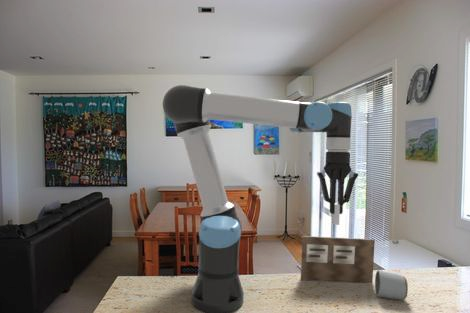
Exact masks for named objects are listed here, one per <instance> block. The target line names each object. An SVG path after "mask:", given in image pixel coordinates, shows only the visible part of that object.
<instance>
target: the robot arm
mask: <svg viewBox="0 0 470 313" xmlns="http://www.w3.org/2000/svg"><path fill="white" fill-rule="evenodd" d="M162 109H163V113H164V115H165V116H166V117H167V118H168V119H169V120H170V121H171V122H173V126H174V128H175V129H174V130H175V131H176V135H177V137H180V138H181V139H182V140H183V142H184V147H185V150H186V152H187V157H188V160H189V163H190V167H191V171H192V173H193V174H192V175H193V177H194V180H195V184H196V188H197V191H198V195H199V198H200V201H201V202H200V203H201V206H202V211H201V213H200V218H201V222H200V225H199V230H198V237H199V238H198V241H199V243H198V270H197V271H198V274H197V276H196V279H195V282H194V285H193V287H192V291H191V299H190V300H191V302H190V303H191V304H192V306H193V307H195V308H196V309H197V310H199V311H200V312H204V313H231V312H234V311H237V310H238V309H240V308H241V307H242V306H243V305H244V298H245V297H244V290H243V287H242V283H241V279H240V276H239V268H240V264H239V262H240V246H241V245H240V244H241V236H242V231H243V228H242V227H243V226H242V222H241V219H240V218H239V217H238V214H237V210H236V207H235V204H234V203H232V202H231V201H229V199H228V196H227V193H226V189H225V186H224V182H223V178H222V175H221V172H220V168H219V164H218V161H217V157H216V154H215V152H214V147H213V144H212V141H211V137H210V134H209V131H210V129H211V128H212V123H211V120H212V121H221V122H232V123H239V124H241V123H242V124H251V125H261V126H269V127H280V128H289V131H290V132H293V133H294V132H295V133H325V134H326V136H325V137H326V141H325V149H326V152H325V162H324V163H325V165H324V167H323V169H322V170H321V171H317V172H316V175H317V177H318V178H319V182H320V186H321V191H322V195H323V200H324V201H325V202H326V203H329V213H330V214H331V215H332V221H331V222H332V223H333V225H336V226H337V225H338V226H339V225H340V215H343V212H344V204H346V203H349V202H350V199H351V196H352V192H353V188H354V185H355V181H356V179H357V178H358V177H359V174H358V173H357V172H354V170H352V166H351V153H350V151H351V143H352V142H351V139H352V138H351V136H352V135H351V134H352V118H353V116H352V105H351V104H350V103H349V102H346V101H342V102H341V101H334V102H329V103H328V104H327V103H325V102H323V101H314V102H304V101H303V102H301V101H296V100H295V101H293V100H286V99H285V100H284V99H275V98H266V97H265V98H264V97H256V96H255V97H253V96H247V95H246V96H245V95H235V94H226V93H225V94H224V93H215V92H214V93H213V92H211V90H209V89H208V88H203V87H196V86H190V85H182V84H181V85H180V84H179V85H175V86H173V87H171V88H170V89H168V90H167V91H166V93H165V94H164V96H163V99H162ZM326 175H327V177H328V178H329V190H328V186H327V181H326ZM347 177H349V178H348V180H347V184H346V187H345V180H346V178H347ZM336 188H337V190H336ZM336 191H337V202H336Z"/></svg>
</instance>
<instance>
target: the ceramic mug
mask: <svg viewBox="0 0 470 313" xmlns="http://www.w3.org/2000/svg"><path fill="white" fill-rule="evenodd" d="M408 285H409V284H408V281H407V278H406V276H404V275H402V274H399V273H398V274H397V273H395V272H394V273H393V272H388V271H383V270H380V269H379V270H376V273H375V278H374V290H375V296H376V297H380V298H386V299H393V300H394V299H395V300H405V299H406V298H407V296H408V292H409V290H408V289H409V286H408Z"/></svg>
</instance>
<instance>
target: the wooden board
mask: <svg viewBox="0 0 470 313" xmlns="http://www.w3.org/2000/svg"><path fill="white" fill-rule="evenodd" d="M301 239H302V243H301V265H300V268H301V269H300V281H307V282H308V281H309V282H310V281H314V282H329V283H330V282H331V283H352V284H366V285H367V284H369V285H370V284H371V285H372V284H373V281H374V280H373V279H374V262H375V261H374V259H375V258H374V257H375V241H376V240H375V239H373V238H371V239H369V238H354V237H353V238H352V237H335V236H334V237H333V236H332V237H331V236H311V235H310V236H309V235H307V236H306V235H302V238H301Z"/></svg>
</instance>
